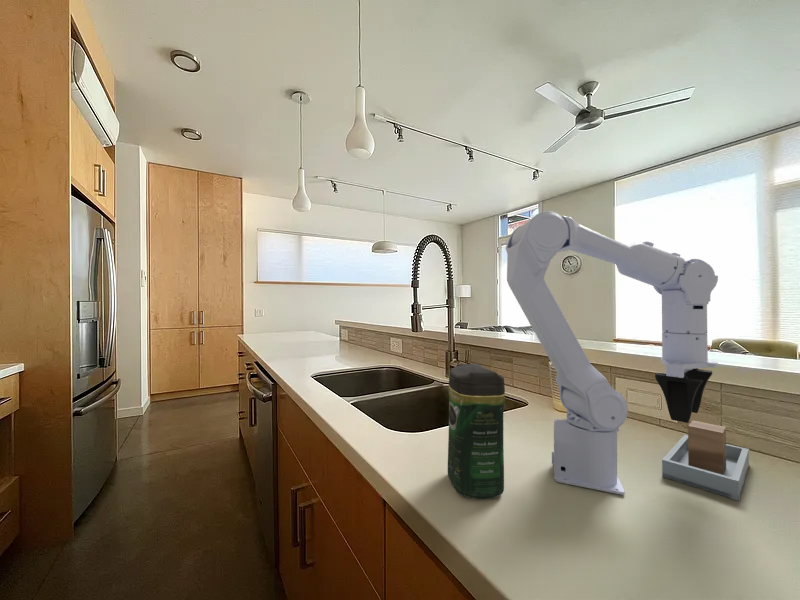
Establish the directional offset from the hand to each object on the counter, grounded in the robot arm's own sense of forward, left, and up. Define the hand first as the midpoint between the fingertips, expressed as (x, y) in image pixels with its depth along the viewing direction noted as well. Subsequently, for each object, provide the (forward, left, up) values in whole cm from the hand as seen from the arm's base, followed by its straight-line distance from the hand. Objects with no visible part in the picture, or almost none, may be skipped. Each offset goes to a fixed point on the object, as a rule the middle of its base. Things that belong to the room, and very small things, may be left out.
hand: (684, 416), depth 55 cm
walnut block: (+5, +6, -10) cm, 12 cm away
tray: (+5, +6, -10) cm, 13 cm away
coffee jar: (-31, -16, -11) cm, 37 cm away
